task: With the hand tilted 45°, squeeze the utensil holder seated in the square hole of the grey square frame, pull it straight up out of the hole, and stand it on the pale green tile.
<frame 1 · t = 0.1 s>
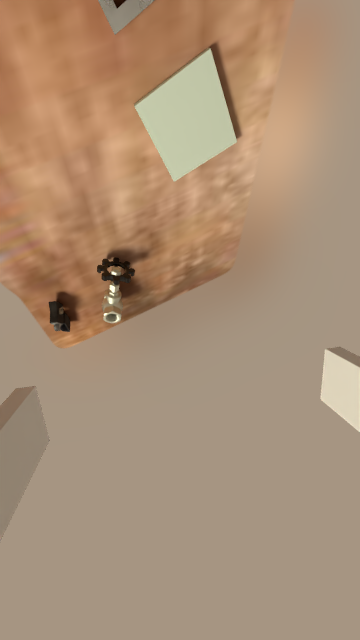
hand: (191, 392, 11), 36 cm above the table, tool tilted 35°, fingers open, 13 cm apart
lighter: (62, 308, 56), on the table
green tile: (188, 123, 33), on the table
valve: (113, 280, 52), on the table
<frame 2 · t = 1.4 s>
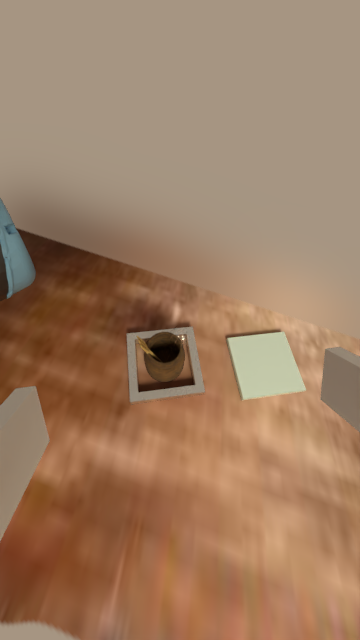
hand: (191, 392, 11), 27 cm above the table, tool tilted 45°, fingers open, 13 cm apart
grey square frame: (163, 365, 40), on the table
green tile: (262, 364, 41), on the table
utensil holder: (163, 365, 40), resting in grey square frame
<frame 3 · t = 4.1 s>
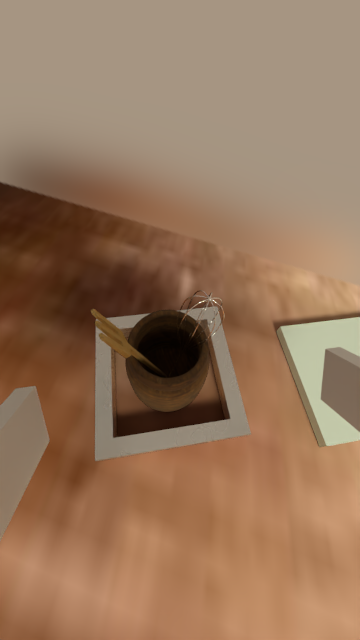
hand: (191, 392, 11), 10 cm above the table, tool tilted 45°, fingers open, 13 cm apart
grey square frame: (165, 377, 21), on the table
green tile: (348, 374, 22), on the table
utensil holder: (165, 378, 22), resting in grey square frame
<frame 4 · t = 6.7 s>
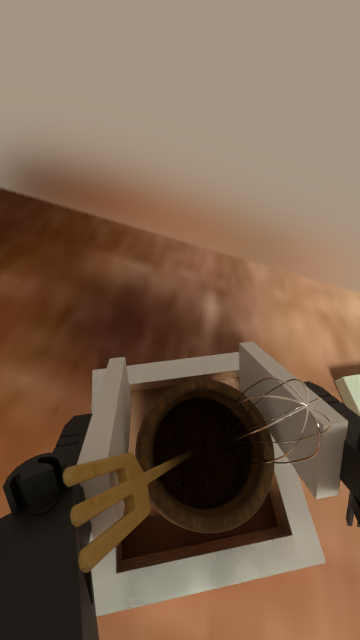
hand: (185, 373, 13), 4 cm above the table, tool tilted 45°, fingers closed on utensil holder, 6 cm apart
grey square frame: (189, 453, 15), on the table
utensil holder: (189, 453, 15), resting in grey square frame, touching gripper
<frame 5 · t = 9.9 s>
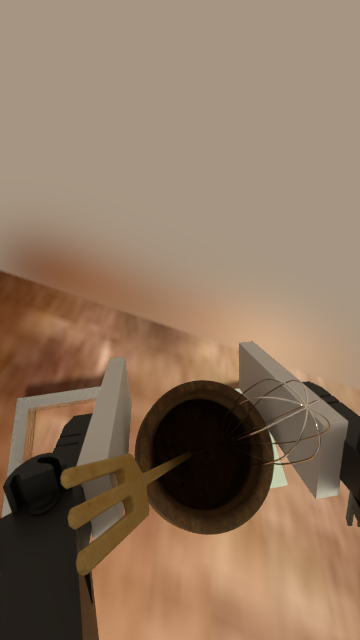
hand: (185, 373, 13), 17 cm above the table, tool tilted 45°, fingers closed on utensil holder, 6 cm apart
grey square frame: (73, 446, 27), on the table
green tile: (224, 439, 28), on the table
utensil holder: (189, 454, 15), point 13 cm above the table, touching gripper
when the fingers open (6 cm above the table, at t = 13.0 s): utensil holder stays where it is, resting on green tile.
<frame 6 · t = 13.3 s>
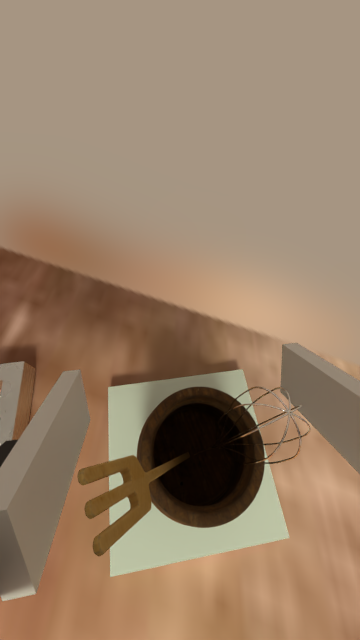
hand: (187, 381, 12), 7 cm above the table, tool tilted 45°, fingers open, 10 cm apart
green tile: (187, 454, 17), on the table
utensil holder: (187, 454, 16), point 1 cm above the table, touching green tile
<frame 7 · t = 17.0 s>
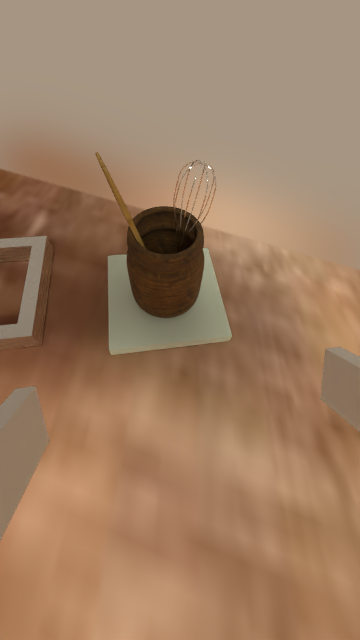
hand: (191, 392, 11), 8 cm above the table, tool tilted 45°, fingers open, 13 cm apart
green tile: (164, 298, 24), on the table
utensil holder: (164, 294, 23), point 1 cm above the table, touching green tile
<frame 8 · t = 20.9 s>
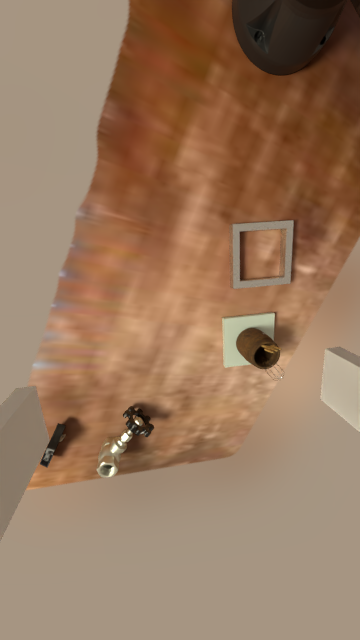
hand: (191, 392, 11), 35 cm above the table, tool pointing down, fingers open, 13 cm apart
lighter: (58, 436, 50), on the table
grey square frame: (258, 255, 46), on the table
green tile: (247, 339, 50), on the table
valve: (123, 429, 52), on the table
utensil holder: (248, 340, 49), point 1 cm above the table, touching green tile
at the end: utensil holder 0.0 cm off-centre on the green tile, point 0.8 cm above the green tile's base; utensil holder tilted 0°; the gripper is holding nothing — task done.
